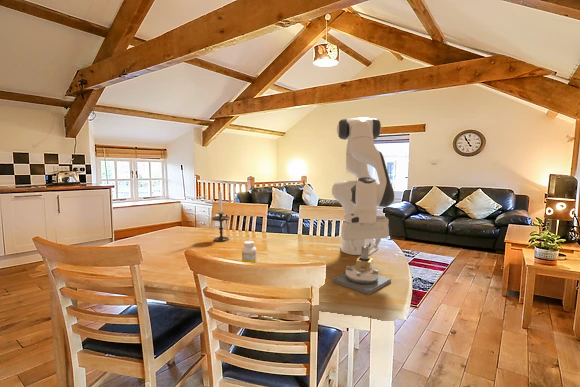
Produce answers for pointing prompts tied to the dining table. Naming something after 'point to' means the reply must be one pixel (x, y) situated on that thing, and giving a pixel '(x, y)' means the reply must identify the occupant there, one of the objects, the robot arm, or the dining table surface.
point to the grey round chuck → (362, 272)
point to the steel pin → (364, 253)
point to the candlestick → (220, 220)
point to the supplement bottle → (249, 252)
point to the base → (362, 287)
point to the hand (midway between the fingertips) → (364, 248)
